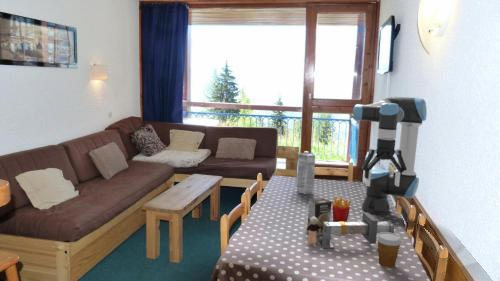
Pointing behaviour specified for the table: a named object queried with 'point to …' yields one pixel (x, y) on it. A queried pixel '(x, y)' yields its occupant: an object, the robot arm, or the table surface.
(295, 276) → the table surface
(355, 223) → the grey crossbar beam
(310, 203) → the coffee box
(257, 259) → the table surface
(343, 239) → the table surface
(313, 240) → the grandmother figurine
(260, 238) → the table surface
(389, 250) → the disposable coffee cup
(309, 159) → the juice carton
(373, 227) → the grey flat piece
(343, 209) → the french fries
